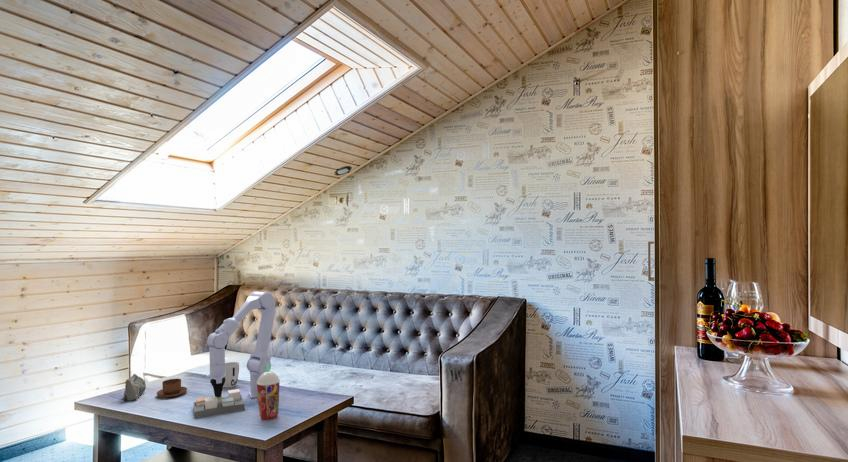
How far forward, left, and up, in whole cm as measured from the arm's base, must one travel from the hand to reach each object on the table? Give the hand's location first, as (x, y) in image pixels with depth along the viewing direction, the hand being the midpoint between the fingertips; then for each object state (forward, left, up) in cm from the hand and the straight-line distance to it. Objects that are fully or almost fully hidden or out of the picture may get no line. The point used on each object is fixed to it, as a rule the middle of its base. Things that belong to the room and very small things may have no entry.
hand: (218, 396), depth 204 cm
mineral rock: (+31, -34, -4) cm, 46 cm away
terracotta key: (+6, 0, -3) cm, 7 cm away
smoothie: (-16, +23, -4) cm, 28 cm away
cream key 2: (-6, 0, -2) cm, 6 cm away
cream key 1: (+3, +6, -2) cm, 7 cm away
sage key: (0, 0, -3) cm, 3 cm away
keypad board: (0, +3, -4) cm, 5 cm away
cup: (-7, -28, -4) cm, 29 cm away
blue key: (-3, +6, -3) cm, 8 cm away
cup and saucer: (+17, -28, -4) cm, 33 cm away
